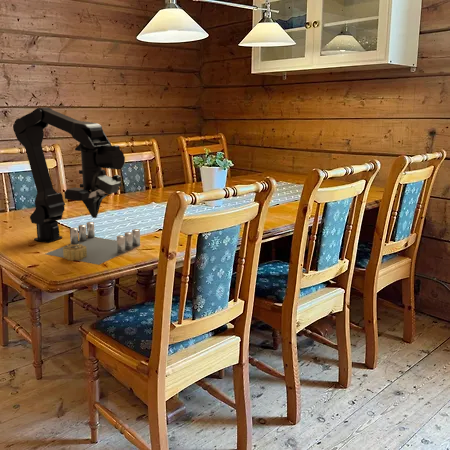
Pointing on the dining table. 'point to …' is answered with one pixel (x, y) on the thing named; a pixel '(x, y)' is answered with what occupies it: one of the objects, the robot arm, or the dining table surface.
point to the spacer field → (122, 241)
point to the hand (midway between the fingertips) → (94, 217)
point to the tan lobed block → (74, 252)
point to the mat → (94, 250)
